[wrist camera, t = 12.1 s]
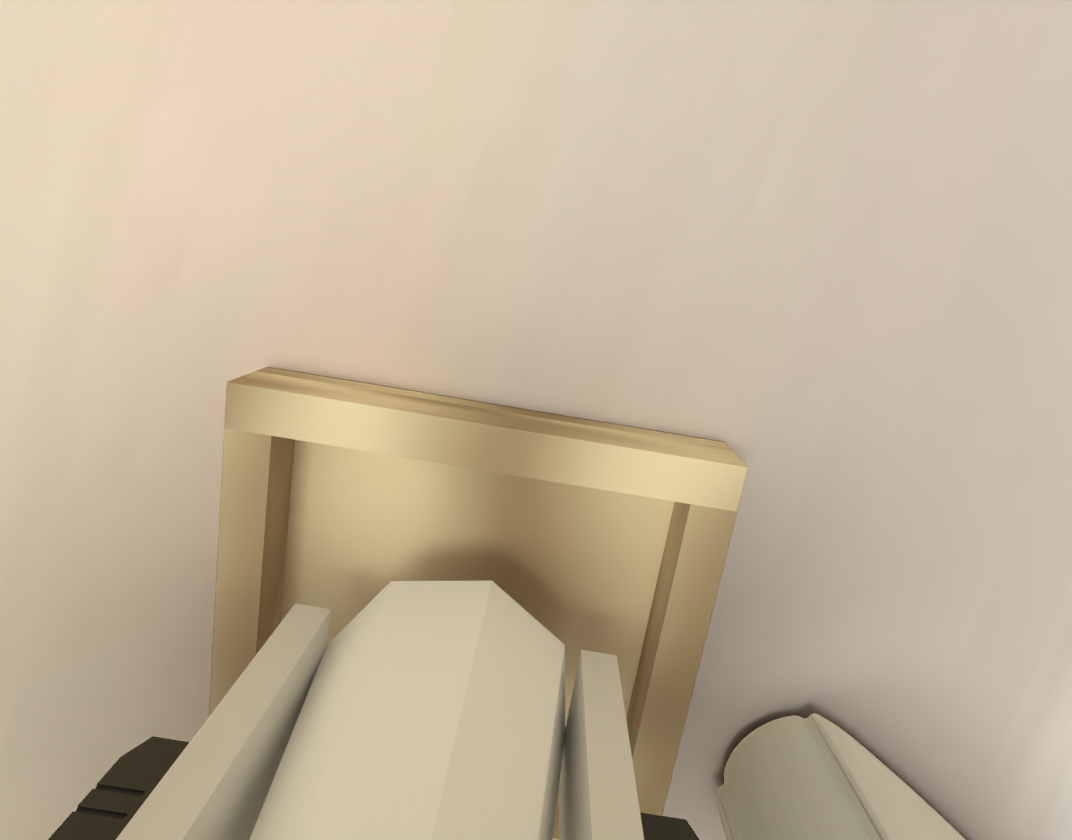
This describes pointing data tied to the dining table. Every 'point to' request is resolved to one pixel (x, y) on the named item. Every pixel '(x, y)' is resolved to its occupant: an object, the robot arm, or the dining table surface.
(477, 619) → the pepper shaker
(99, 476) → the dining table surface
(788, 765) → the photo printer
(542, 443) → the tray
